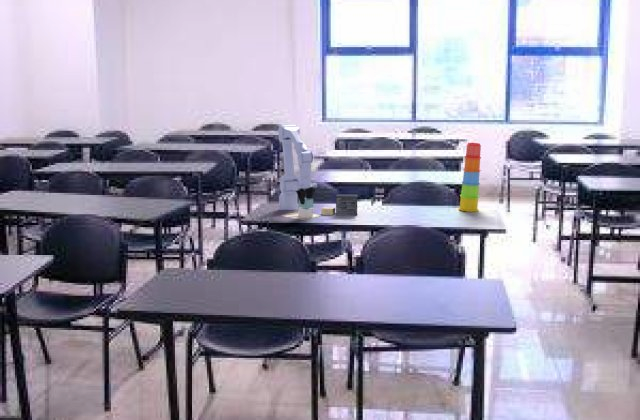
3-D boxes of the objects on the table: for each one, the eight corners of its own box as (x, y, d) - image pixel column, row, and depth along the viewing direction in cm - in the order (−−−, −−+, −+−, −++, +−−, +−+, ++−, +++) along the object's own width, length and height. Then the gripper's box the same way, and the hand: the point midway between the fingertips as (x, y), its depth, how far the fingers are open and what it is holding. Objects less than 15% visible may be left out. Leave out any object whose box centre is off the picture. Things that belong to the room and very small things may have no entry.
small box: (357, 214, 368) (357, 194, 366) (356, 217, 361) (357, 196, 359) (336, 214, 369) (336, 193, 367) (335, 216, 363) (335, 196, 360)
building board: (279, 217, 362) (279, 215, 362) (300, 212, 372) (299, 211, 372) (302, 221, 351) (302, 220, 351) (322, 217, 361) (322, 215, 361)
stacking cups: (471, 207, 384) (474, 141, 377) (482, 211, 375) (485, 143, 368) (454, 209, 381) (456, 142, 374) (465, 212, 371) (467, 144, 364)
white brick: (298, 216, 360) (298, 208, 359) (304, 215, 363) (304, 207, 362) (307, 217, 356) (307, 209, 355) (312, 216, 359) (312, 208, 358)
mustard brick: (321, 216, 365) (321, 208, 364) (323, 214, 369) (323, 206, 368) (332, 216, 363) (332, 209, 362) (335, 215, 366) (335, 207, 366)
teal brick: (298, 206, 359) (298, 198, 358) (304, 205, 362) (304, 197, 361) (307, 208, 355) (307, 200, 354) (313, 207, 358) (313, 199, 357)
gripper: (300, 178, 348) (300, 206, 351) (321, 175, 358) (321, 202, 361) (290, 177, 353) (290, 204, 355) (311, 173, 363) (311, 200, 366)
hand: (305, 203), depth 358 cm, fingers closed on teal brick, 4 cm apart
